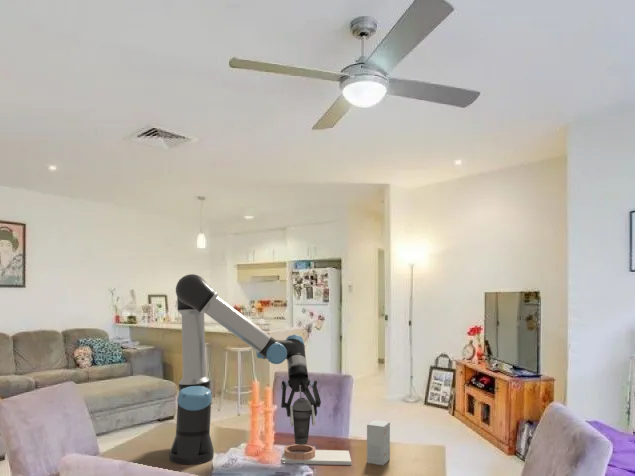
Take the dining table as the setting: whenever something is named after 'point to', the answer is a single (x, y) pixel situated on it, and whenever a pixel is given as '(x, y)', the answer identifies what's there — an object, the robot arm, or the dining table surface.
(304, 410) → the beverage cup
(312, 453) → the terracotta ring holder
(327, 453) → the pale grey board
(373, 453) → the small box
